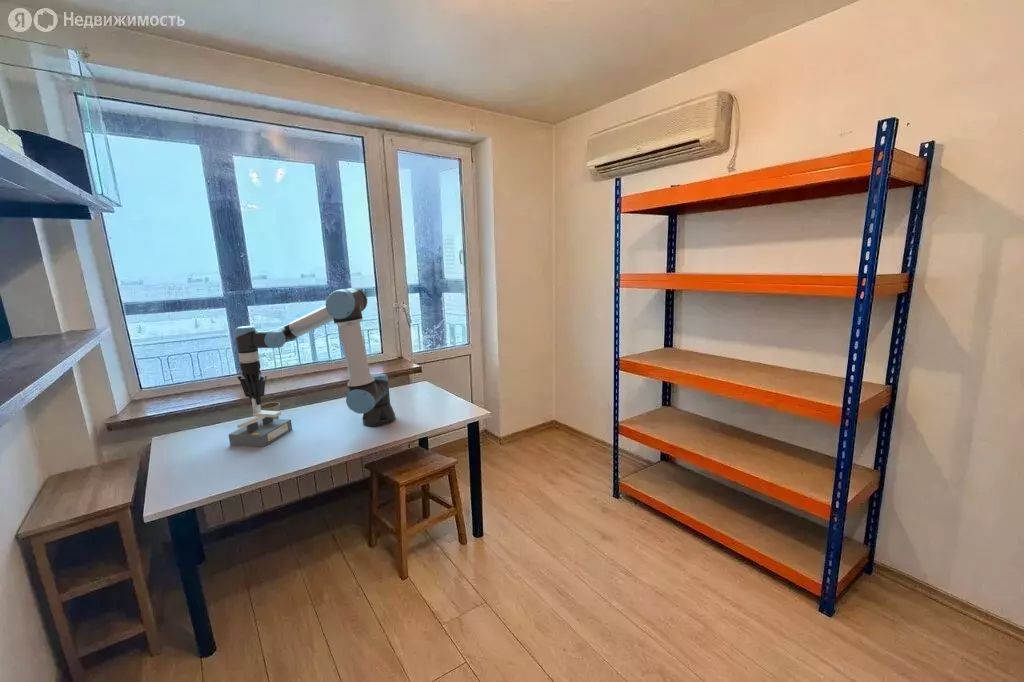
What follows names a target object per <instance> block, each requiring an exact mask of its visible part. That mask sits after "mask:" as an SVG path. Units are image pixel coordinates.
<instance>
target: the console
mask: <svg viewBox="0 0 1024 682" xmlns="http://www.w3.org/2000/svg"><path fill="white" fill-rule="evenodd" d="M291 431H293V426H292V419H286V418H285V419H284V418H281V419H280V418H279V419H273V418H272V417H265V418H264V419H262V420H260V421H258V422H255V423H252V424H249V425H247V426H244V427H241V428H239V429H238V428H237V429H236V430H234V431H233V432H230V433H228V439H229V440H228V441H229V445H230V446H234V447H235V446H236V447H237V446H238V447H255V448H264V447H266V446H268V445H269V444H271V443H272V442H274V441H276V440H278V439H279V438H281V437H282V436H284V435H287V433H290V432H291Z"/></svg>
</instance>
